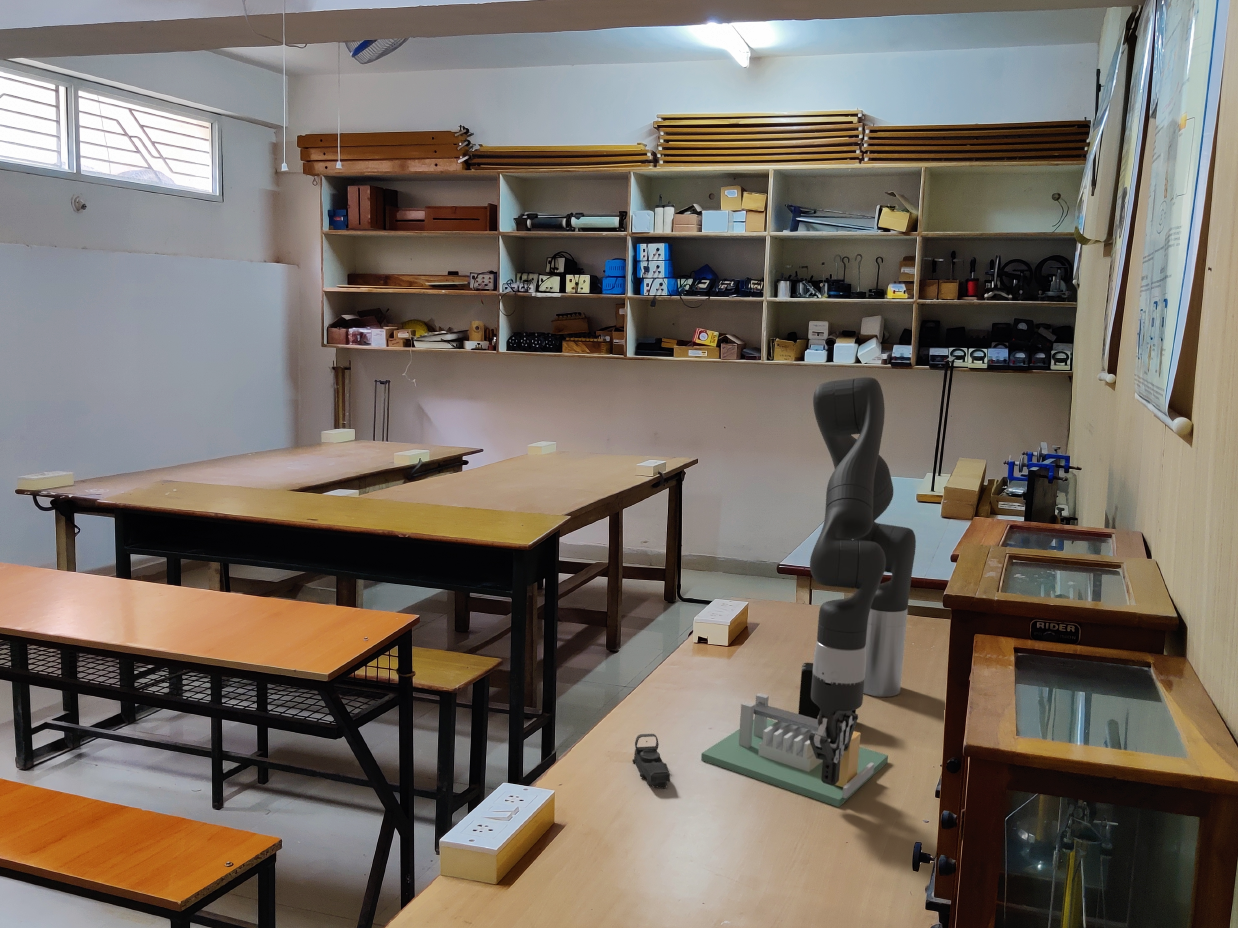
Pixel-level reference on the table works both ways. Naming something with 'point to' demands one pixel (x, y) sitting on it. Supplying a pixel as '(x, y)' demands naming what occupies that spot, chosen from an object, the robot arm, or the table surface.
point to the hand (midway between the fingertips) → (829, 782)
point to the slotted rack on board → (785, 757)
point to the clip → (849, 761)
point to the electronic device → (808, 693)
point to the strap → (786, 716)
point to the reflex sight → (651, 764)
